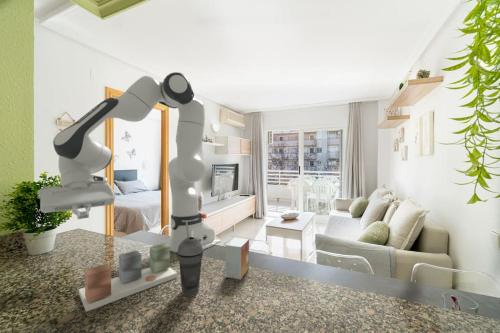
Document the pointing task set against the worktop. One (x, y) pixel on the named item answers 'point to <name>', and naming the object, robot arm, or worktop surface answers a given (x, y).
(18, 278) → the worktop surface
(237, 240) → the small box
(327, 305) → the worktop surface
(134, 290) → the base
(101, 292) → the pink tall block
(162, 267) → the sage green block
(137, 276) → the grey tall block
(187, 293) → the beverage cup
